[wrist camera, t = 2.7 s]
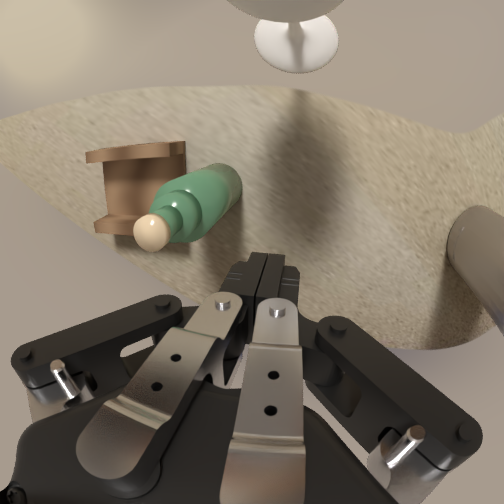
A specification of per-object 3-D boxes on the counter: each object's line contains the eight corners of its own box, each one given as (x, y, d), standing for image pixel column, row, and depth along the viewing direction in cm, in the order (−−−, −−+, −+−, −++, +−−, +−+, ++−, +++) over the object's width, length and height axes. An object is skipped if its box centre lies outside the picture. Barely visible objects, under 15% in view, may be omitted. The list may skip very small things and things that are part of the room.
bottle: (242, 163, 29) (182, 195, 15) (242, 210, 31) (188, 276, 17) (196, 163, 29) (112, 194, 16) (198, 207, 32) (123, 266, 18)
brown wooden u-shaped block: (185, 141, 29) (169, 143, 25) (188, 227, 33) (175, 239, 30) (104, 148, 31) (85, 152, 27) (112, 222, 35) (95, 232, 32)
